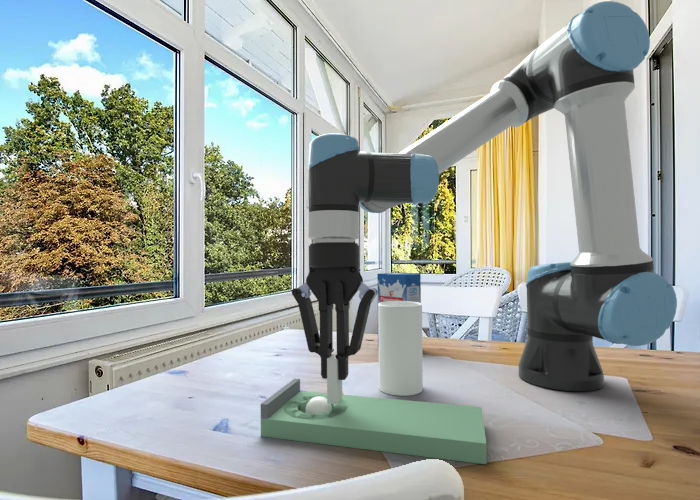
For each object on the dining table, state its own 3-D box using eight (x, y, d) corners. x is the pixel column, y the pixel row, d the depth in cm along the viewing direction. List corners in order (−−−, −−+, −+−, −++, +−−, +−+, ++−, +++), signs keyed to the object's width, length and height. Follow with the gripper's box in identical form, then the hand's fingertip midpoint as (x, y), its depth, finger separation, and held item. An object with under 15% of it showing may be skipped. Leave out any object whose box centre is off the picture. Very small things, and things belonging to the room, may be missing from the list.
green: (481, 423, 60) (481, 393, 61) (486, 464, 49) (486, 426, 49) (294, 405, 68) (294, 378, 68) (260, 436, 57) (260, 404, 57)
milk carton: (377, 347, 110) (377, 273, 111) (392, 343, 115) (392, 272, 115) (406, 353, 103) (405, 274, 103) (421, 349, 107) (420, 273, 108)
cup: (412, 398, 71) (411, 307, 71) (371, 390, 75) (370, 304, 76) (429, 385, 78) (428, 302, 78) (390, 379, 82) (390, 300, 83)
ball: (314, 395, 64) (302, 420, 62) (310, 389, 61) (298, 415, 59) (337, 405, 63) (326, 431, 61) (335, 399, 60) (323, 426, 58)
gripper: (381, 241, 62) (382, 395, 62) (302, 242, 66) (303, 388, 66) (371, 240, 55) (372, 414, 55) (282, 241, 59) (283, 405, 58)
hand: (334, 400), depth 60 cm, fingers closed
